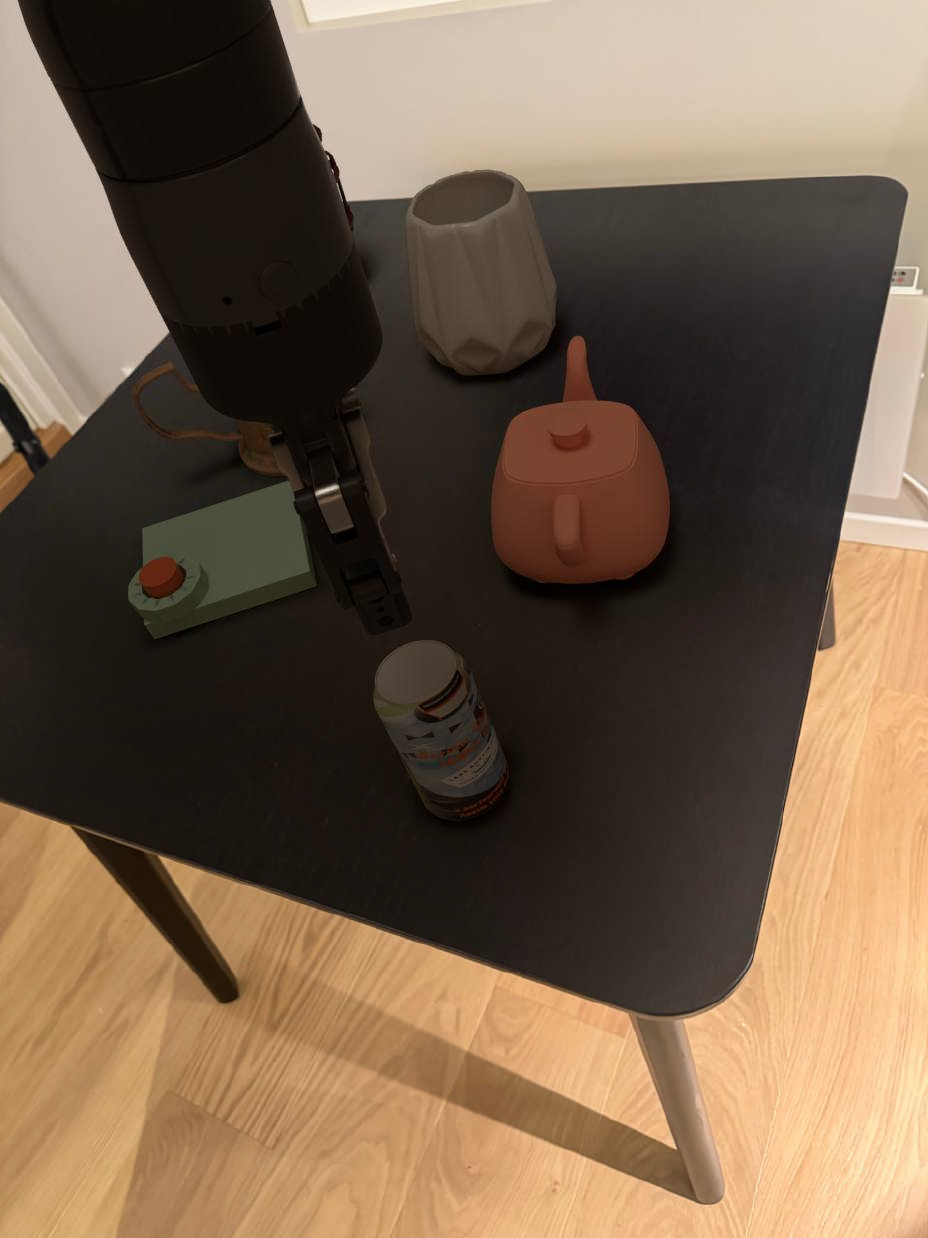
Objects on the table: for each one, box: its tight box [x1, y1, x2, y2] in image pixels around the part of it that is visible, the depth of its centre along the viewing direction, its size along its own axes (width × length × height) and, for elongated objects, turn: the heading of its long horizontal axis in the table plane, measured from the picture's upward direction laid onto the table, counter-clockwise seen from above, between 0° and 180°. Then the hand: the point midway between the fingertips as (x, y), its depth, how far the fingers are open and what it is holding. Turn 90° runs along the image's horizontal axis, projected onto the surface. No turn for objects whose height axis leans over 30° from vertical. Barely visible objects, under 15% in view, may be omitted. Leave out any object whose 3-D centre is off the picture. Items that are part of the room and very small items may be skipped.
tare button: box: [139, 557, 184, 599], centre depth 75 cm, size 3×3×2 cm
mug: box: [131, 361, 287, 477], centre depth 85 cm, size 12×18×12 cm, turn 117°
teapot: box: [490, 335, 671, 585], centre depth 69 cm, size 13×20×12 cm, turn 173°
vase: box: [404, 169, 558, 377], centre depth 87 cm, size 14×14×15 cm
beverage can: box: [372, 639, 511, 822], centre depth 57 cm, size 6×7×12 cm
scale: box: [127, 479, 318, 640], centre depth 79 cm, size 14×13×4 cm
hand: (373, 562), depth 46 cm, fingers open, 8 cm apart
